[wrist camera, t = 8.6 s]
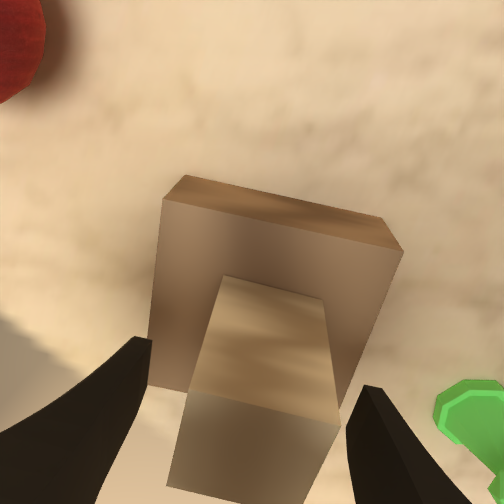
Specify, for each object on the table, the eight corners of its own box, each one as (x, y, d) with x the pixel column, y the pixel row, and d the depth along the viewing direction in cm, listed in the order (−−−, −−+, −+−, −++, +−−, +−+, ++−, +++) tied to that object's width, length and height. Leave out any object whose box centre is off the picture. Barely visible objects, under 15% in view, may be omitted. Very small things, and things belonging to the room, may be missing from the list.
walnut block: (380, 215, 18) (403, 251, 15) (325, 365, 22) (333, 423, 18) (187, 172, 18) (162, 198, 14) (165, 331, 22) (142, 383, 18)
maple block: (322, 300, 16) (341, 426, 10) (293, 375, 17) (296, 516, 12) (223, 274, 15) (188, 389, 10) (204, 353, 17) (165, 485, 12)
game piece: (530, 393, 21) (615, 504, 16) (483, 444, 23) (544, 559, 18) (459, 367, 21) (521, 471, 16) (416, 421, 23) (458, 531, 17)
